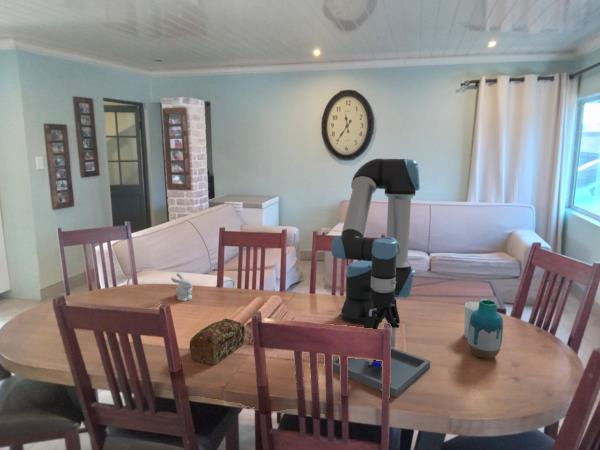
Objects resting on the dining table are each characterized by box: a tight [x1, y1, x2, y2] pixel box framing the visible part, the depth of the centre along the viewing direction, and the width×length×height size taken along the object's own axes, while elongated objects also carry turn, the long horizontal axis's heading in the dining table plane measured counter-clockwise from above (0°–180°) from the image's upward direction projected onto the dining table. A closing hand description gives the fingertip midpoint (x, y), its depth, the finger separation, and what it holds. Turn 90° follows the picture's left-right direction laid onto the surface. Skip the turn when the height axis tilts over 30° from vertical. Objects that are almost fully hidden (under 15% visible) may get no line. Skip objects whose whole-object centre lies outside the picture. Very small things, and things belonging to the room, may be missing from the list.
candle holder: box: [463, 301, 479, 339], centre depth 165 cm, size 10×10×12 cm
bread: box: [189, 318, 246, 366], centre depth 153 cm, size 19×11×10 cm, turn 153°
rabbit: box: [171, 273, 194, 302], centre depth 203 cm, size 12×9×12 cm
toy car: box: [368, 360, 382, 369], centre depth 142 cm, size 7×12×5 cm, turn 163°
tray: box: [332, 347, 431, 398], centre depth 142 cm, size 24×22×2 cm
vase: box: [467, 299, 504, 359], centre depth 150 cm, size 11×11×19 cm
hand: (380, 353), depth 141 cm, fingers closed on toy car, 13 cm apart
